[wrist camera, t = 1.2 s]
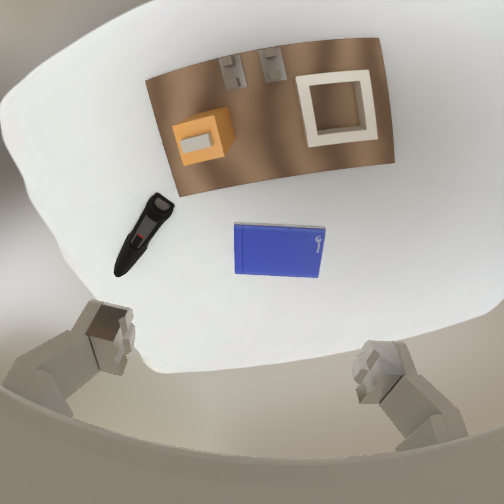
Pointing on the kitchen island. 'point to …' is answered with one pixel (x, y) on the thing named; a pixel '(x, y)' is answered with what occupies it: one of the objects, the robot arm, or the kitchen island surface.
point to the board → (273, 112)
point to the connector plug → (204, 135)
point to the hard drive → (278, 249)
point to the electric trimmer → (143, 233)
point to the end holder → (342, 134)
